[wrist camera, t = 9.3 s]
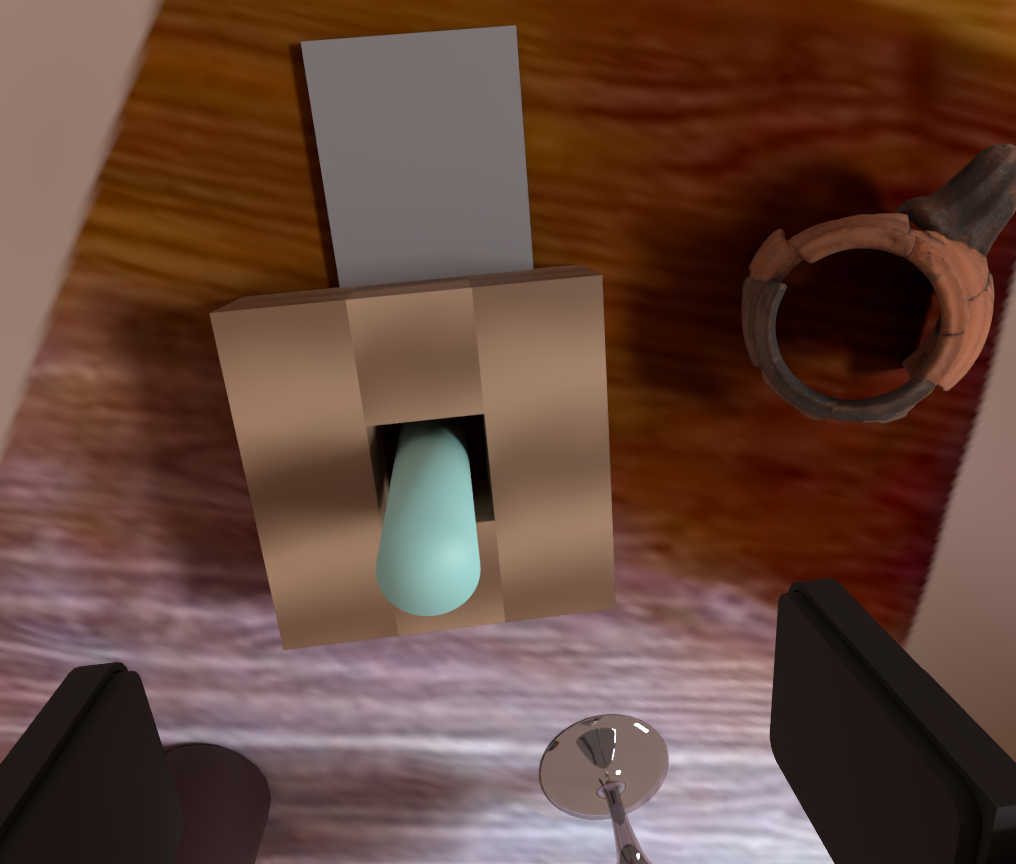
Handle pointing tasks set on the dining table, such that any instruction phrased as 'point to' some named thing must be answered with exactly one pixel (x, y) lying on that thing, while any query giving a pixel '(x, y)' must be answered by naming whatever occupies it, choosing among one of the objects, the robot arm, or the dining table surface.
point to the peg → (429, 521)
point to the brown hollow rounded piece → (935, 251)
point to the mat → (421, 154)
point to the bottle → (218, 805)
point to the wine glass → (606, 774)
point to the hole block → (415, 397)
